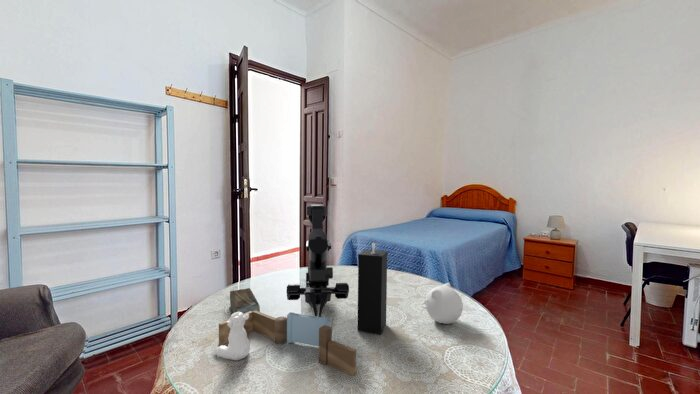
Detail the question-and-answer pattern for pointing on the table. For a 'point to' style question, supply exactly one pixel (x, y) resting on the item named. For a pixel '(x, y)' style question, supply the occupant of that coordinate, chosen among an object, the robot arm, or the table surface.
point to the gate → (305, 328)
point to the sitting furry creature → (235, 339)
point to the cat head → (443, 304)
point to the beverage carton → (243, 301)
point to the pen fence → (277, 330)
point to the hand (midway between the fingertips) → (318, 319)
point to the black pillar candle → (372, 290)
